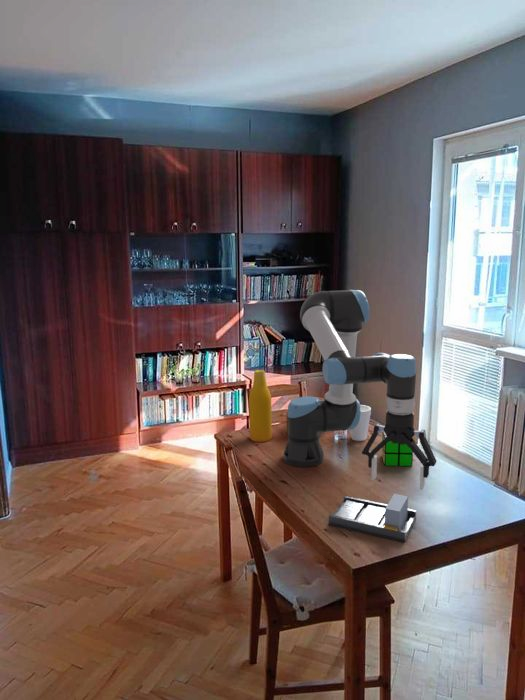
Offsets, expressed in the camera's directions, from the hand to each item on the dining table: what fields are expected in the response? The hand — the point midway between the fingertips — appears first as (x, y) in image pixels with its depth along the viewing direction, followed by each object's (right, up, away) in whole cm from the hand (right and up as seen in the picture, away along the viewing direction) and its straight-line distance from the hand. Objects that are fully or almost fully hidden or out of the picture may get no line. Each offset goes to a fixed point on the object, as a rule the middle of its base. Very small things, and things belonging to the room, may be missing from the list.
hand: (397, 482), depth 157 cm
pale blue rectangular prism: (0, -13, +2) cm, 13 cm away
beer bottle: (-39, 0, +76) cm, 85 cm away
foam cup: (+2, +1, +74) cm, 74 cm away
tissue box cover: (-15, +3, +88) cm, 89 cm away
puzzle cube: (+12, -4, +50) cm, 51 cm away
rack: (-6, -13, +6) cm, 15 cm away
